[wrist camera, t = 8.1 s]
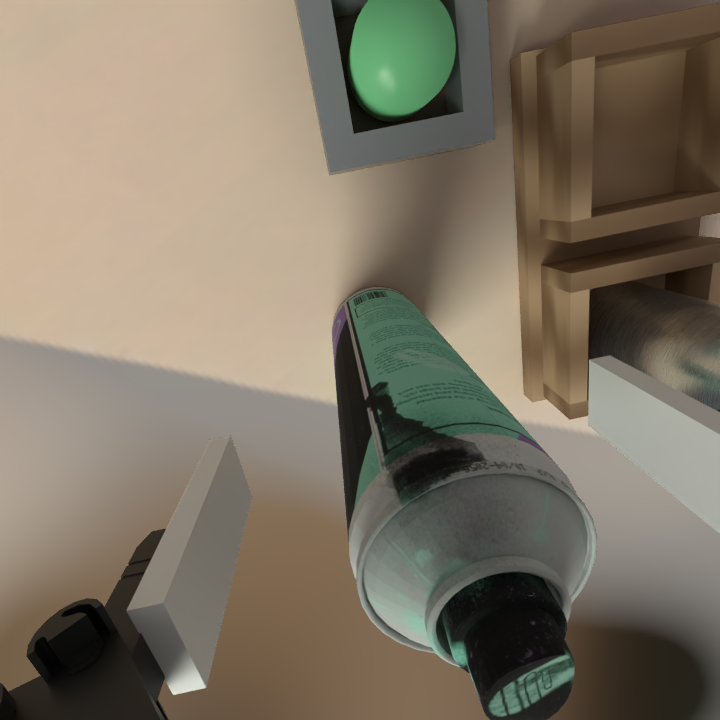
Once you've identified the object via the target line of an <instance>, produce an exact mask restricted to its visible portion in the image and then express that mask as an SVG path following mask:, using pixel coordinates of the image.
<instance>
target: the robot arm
mask: <svg viewBox="0 0 720 720" xmlns="http://www.w3.org/2000/svg"><path fill="white" fill-rule="evenodd" d="M588 426H589V427H591V428H592V429H593V430H594V431H595V432H597V433H598V434H599V435H600V436H602V437H603V438H604V439H605V440H606V441H608V442H609V443H610V444H611V445H613V446H614V447H615V448H616V449H618V450H619V451H620V452H621V453H622V454H623V455H625V456H626V457H627V458H628V459H630V460H631V461H632V462H633V463H634V464H636V465H637V466H638V467H639V468H641V469H642V470H643V471H644V472H645V473H647V474H648V475H649V476H650V477H651V478H653V479H654V480H655V481H657V483H659V484H660V485H661V486H662V487H664V488H665V489H666V490H667V491H669V492H670V493H671V494H672V495H673V496H675V497H676V498H677V499H678V500H679V501H681V502H682V503H683V504H684V505H685V506H687V507H688V508H689V509H690V510H692V511H693V512H694V513H695V514H696V515H698V516H699V517H700V518H701V519H702V520H704V521H705V522H706V523H707V524H709V525H710V526H711V527H712V528H713V529H715V530H716V531H717V532H718V533H720V409H719V410H714V409H712V408H711V407H709V406H707V405H705V404H703V403H701V402H699V401H697V400H695V399H693V398H691V397H689V396H687V395H685V394H683V393H682V392H680V391H678V390H676V389H674V388H672V387H670V386H668V385H666V384H664V383H662V382H660V381H658V380H656V379H654V378H652V377H651V376H649V375H647V374H645V373H643V372H641V371H639V370H637V369H635V368H633V367H631V366H629V365H627V364H625V363H623V362H622V361H620V360H618V359H616V358H614V357H612V356H610V355H609V356H605V357H600V358H595V359H590V360H589V401H588ZM251 500H252V495H251V492H250V489H249V486H248V483H247V480H246V478H245V475H244V472H243V469H242V466H241V464H240V461H239V458H238V455H237V452H236V450H235V446H234V443H233V441H232V438H231V436H230V435H229V436H224V437H219V438H215V439H210V440H209V441H208V444H207V446H206V448H205V450H204V452H203V454H202V456H201V458H200V460H199V462H198V464H197V466H196V468H195V470H194V472H193V474H192V477H191V479H190V481H189V483H188V485H187V487H186V489H185V491H184V493H183V495H182V497H181V499H180V501H179V503H178V506H177V507H176V509H175V512H174V514H173V516H172V518H171V520H170V522H169V524H168V526H167V528H166V529H162V530H157V531H153V532H151V533H150V534H149V535H148V536H147V537H146V538H145V539H144V540H143V541H142V543H140V545H139V546H138V547H137V548H136V550H135V552H134V554H133V556H132V558H131V560H130V561H129V563H128V564H129V566H127V567H126V568H125V570H124V572H123V574H122V576H121V580H119V581H118V583H117V585H116V587H115V589H114V590H113V592H112V594H111V596H110V598H109V600H108V602H107V603H106V605H105V607H104V606H103V605H102V603H101V602H99V601H98V600H97V599H84V600H80V601H77V602H74V603H72V604H70V605H68V606H67V607H65V608H63V609H61V610H59V611H58V612H57V613H56V614H54V615H53V616H52V617H51V618H49V619H48V620H47V621H46V622H45V623H44V624H43V625H42V626H41V627H40V628H39V629H38V631H37V632H36V633H35V634H34V636H33V638H32V640H31V642H30V643H29V645H28V649H27V657H28V659H29V660H30V662H31V663H32V664H33V666H34V667H35V668H36V670H37V671H38V673H39V674H40V675H41V676H39V677H37V678H35V679H33V680H31V681H29V682H27V683H25V684H23V685H21V686H19V687H17V688H15V689H13V690H11V691H9V692H8V691H7V690H6V688H5V687H4V686H3V684H1V683H0V720H168V718H167V716H166V714H165V712H164V710H163V708H162V706H161V704H160V702H159V701H158V696H159V693H160V690H161V687H162V684H163V681H164V679H165V681H166V683H167V685H168V686H169V688H170V690H171V692H172V694H173V695H175V694H179V693H184V692H188V691H193V690H198V689H202V688H206V687H207V682H208V678H209V674H210V670H211V666H212V662H213V657H214V653H215V649H216V645H217V641H218V637H219V633H220V628H221V624H222V620H223V616H224V611H225V608H226V604H227V599H228V595H229V591H230V587H231V583H232V579H233V574H234V570H235V566H236V562H237V558H238V554H239V550H240V545H241V541H242V537H243V533H244V529H245V524H246V520H247V517H248V512H249V508H250V504H251Z"/></svg>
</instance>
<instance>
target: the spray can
mask: <svg viewBox="0 0 720 720" xmlns="http://www.w3.org/2000/svg"><path fill="white" fill-rule="evenodd" d="M332 342H333V354H334V367H335V379H336V392H337V404H338V417H339V428H340V442H341V454H342V467H343V479H344V492H345V504H346V517H347V529H348V541H349V554H350V562H351V565H352V568H353V572H354V576H355V578H356V580H357V589H358V593H359V597H360V600H361V604H362V607H363V608H364V610H365V611H366V613H367V615H368V617H369V618H370V620H371V621H372V622H373V623H374V624H375V625H376V626H377V627H378V628H379V629H380V630H381V631H382V632H383V633H384V634H386V635H387V636H389V637H391V638H392V639H394V640H396V641H397V642H399V643H401V644H404V645H406V646H409V647H411V648H414V649H417V650H421V651H426V652H431V653H436V654H437V655H438V656H439V657H440V658H442V659H444V660H445V661H447V662H448V663H450V664H453V665H455V666H458V667H461V668H462V669H464V670H465V671H467V672H468V673H470V674H471V677H472V680H473V683H474V686H475V689H476V692H477V694H478V697H479V700H480V702H481V704H482V707H483V710H484V712H485V714H486V716H487V717H488V718H489V719H490V720H546V719H548V718H550V717H551V716H552V715H553V714H555V713H556V712H557V711H558V710H559V709H560V708H561V707H562V706H563V705H564V703H565V702H566V700H567V698H568V696H569V694H570V692H571V688H572V683H573V680H574V673H575V663H574V659H573V656H572V654H571V652H570V650H569V648H568V646H567V644H566V642H565V640H564V639H565V635H566V631H567V622H568V620H569V616H570V612H571V603H572V602H573V601H574V599H575V598H576V597H577V595H578V594H579V593H580V591H581V590H582V589H583V587H584V585H585V583H586V581H587V579H588V578H589V576H590V574H591V572H592V568H593V565H594V561H595V557H596V552H597V534H596V530H595V526H594V522H593V518H592V517H591V515H590V513H589V511H588V510H587V508H586V506H585V504H584V503H583V502H582V500H581V499H580V498H579V497H578V496H577V494H576V491H575V490H574V488H573V486H572V484H571V483H570V481H569V479H568V477H567V476H566V475H565V474H564V472H563V471H562V470H561V469H560V468H559V467H558V466H557V465H556V463H555V462H554V461H553V460H552V459H551V458H550V457H549V456H548V454H547V453H546V452H545V451H544V450H543V449H542V448H541V447H540V446H539V444H538V443H537V442H536V441H535V440H534V439H533V438H532V436H530V434H529V433H528V432H527V431H526V430H525V429H524V427H523V426H522V425H521V424H520V423H519V422H518V421H517V420H516V418H515V417H514V416H513V415H512V414H511V413H510V412H509V411H508V409H507V408H506V407H505V406H504V405H503V404H502V403H501V402H500V400H499V399H498V398H497V397H496V396H495V395H494V394H493V393H492V391H491V390H490V389H489V388H488V387H487V386H486V385H485V384H484V382H483V381H482V380H481V379H480V378H479V377H478V376H477V375H476V373H475V372H474V371H473V370H472V369H471V368H470V367H469V366H468V364H467V363H466V362H465V361H464V360H463V359H462V358H461V357H460V355H459V354H458V353H457V352H456V351H455V350H454V349H453V348H452V346H451V345H450V344H449V343H448V342H447V341H446V340H445V339H444V337H443V336H442V335H441V334H440V333H439V332H438V331H437V330H436V328H435V327H434V326H433V325H432V324H431V323H430V322H429V321H428V319H427V318H426V317H425V316H424V315H423V314H422V313H421V312H420V311H419V309H418V308H417V307H416V306H415V305H414V304H413V303H412V302H411V301H410V300H409V299H408V298H407V297H406V296H404V295H403V294H401V293H400V292H398V291H396V290H393V289H391V288H386V287H370V288H365V289H362V290H360V291H358V292H355V293H354V294H353V295H351V296H350V297H348V298H347V299H346V300H345V301H344V302H343V303H342V305H341V306H340V308H339V309H338V311H337V313H336V315H335V318H334V321H333V327H332Z"/></svg>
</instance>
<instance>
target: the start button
mask: <svg viewBox="0 0 720 720" xmlns="http://www.w3.org/2000/svg"><path fill="white" fill-rule="evenodd" d="M455 49H456V41H455V32H454V28H453V24H452V21H451V18H450V15H449V13H448V12H447V10H446V8H445V6H444V5H443V4H442V2H441V1H440V0H368V2H367V3H366V4H365V5H364V7H363V8H362V10H361V12H360V14H359V16H358V18H357V21H356V24H355V27H354V31H353V36H352V41H351V46H350V52H349V57H348V80H349V84H350V88H351V91H352V93H353V95H354V97H355V99H356V101H357V102H358V104H359V105H360V106H361V107H362V109H364V110H365V111H366V112H367V113H368V114H370V115H371V116H373V117H374V118H376V119H379V120H382V121H387V122H396V121H402V120H405V119H407V118H410V117H411V116H413V115H415V114H416V113H417V112H418V111H420V110H421V109H422V108H423V107H424V106H425V105H426V104H427V103H428V102H429V101H431V100H432V99H433V98H434V97H435V96H436V95H437V94H438V93H439V92H440V90H441V89H442V88H443V86H444V85H445V83H446V81H447V80H448V78H449V75H450V73H451V70H452V67H453V64H454V58H455Z"/></svg>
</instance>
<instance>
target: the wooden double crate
mask: <svg viewBox="0 0 720 720" xmlns="http://www.w3.org/2000/svg"><path fill="white" fill-rule="evenodd" d="M510 74H511V98H512V122H513V146H514V170H515V194H516V217H517V241H518V265H519V289H520V313H521V337H522V361H523V385H524V395H525V396H526V397H527V398H529V399H530V400H531V401H532V402H536V401H540V400H545V399H547V400H548V401H549V402H550V403H552V404H553V405H554V406H555V407H556V408H557V409H558V410H560V411H561V412H562V413H563V414H564V415H565V416H566V417H567V418H569V419H575V418H579V417H584V416H588V401H589V360H590V358H589V357H588V335H589V292H590V291H591V290H592V289H594V288H598V287H602V286H607V285H612V284H617V283H622V282H627V281H634V282H637V283H641V284H645V285H649V286H653V287H657V288H660V289H664V290H668V291H672V292H676V293H680V294H683V295H687V296H691V297H695V298H699V299H703V300H706V301H710V302H714V303H718V304H720V238H713V237H702V236H698V234H699V226H700V217H701V216H705V215H710V214H715V213H720V3H716V4H711V5H706V6H701V7H696V8H691V9H686V10H681V11H676V12H671V13H666V14H661V15H656V16H651V17H646V18H641V19H636V20H631V21H626V22H621V23H616V24H611V25H606V26H601V27H596V28H591V29H586V30H581V31H576V32H571V33H570V34H568V35H567V36H565V37H564V38H562V39H561V40H559V41H558V42H557V43H555V44H554V45H552V46H551V47H548V48H543V49H538V50H533V51H528V52H523V53H520V54H519V55H517V56H516V57H514V58H513V59H512V60H510Z"/></svg>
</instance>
